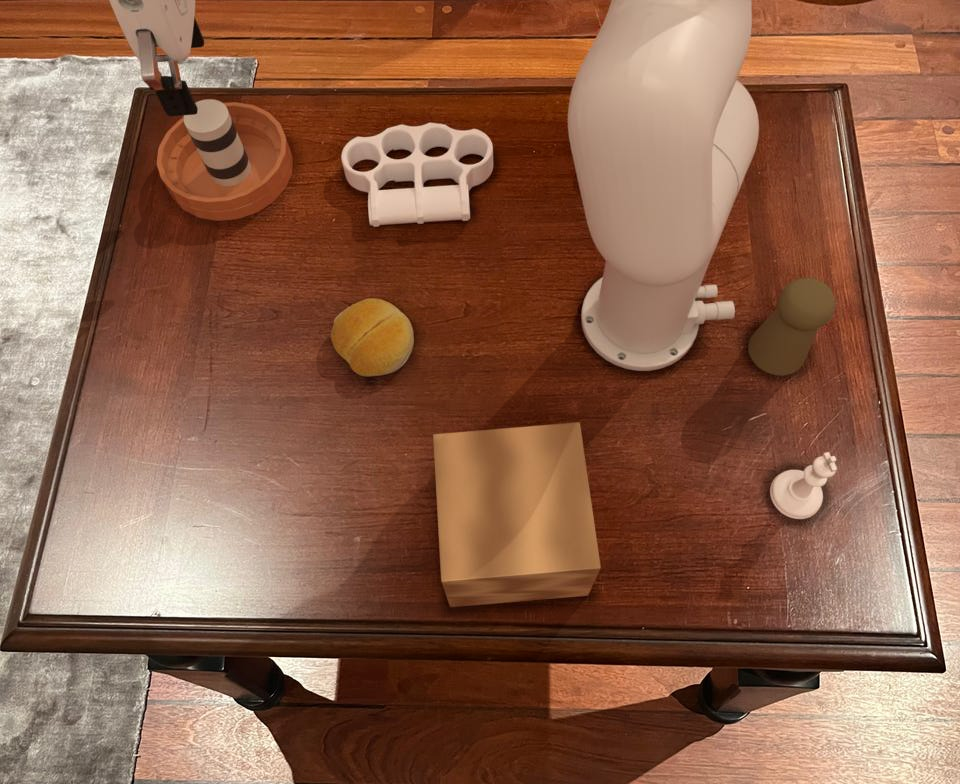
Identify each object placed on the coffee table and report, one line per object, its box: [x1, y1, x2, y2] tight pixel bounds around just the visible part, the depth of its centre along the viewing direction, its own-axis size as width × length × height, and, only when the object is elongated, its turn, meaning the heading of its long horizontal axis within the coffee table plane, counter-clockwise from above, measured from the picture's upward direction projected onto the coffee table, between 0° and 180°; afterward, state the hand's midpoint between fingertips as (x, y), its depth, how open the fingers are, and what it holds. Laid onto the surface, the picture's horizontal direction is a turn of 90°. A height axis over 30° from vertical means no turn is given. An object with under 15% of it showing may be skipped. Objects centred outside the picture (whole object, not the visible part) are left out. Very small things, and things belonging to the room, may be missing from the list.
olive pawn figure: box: [747, 277, 837, 376], centre depth 80 cm, size 6×6×11 cm
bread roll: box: [330, 297, 415, 378], centre depth 85 cm, size 8×9×4 cm
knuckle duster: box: [340, 122, 494, 228], centre depth 95 cm, size 3×18×15 cm
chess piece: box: [769, 451, 838, 520], centre depth 74 cm, size 5×5×10 cm
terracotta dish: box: [156, 101, 294, 222], centre depth 96 cm, size 15×15×4 cm
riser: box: [432, 421, 602, 608], centre depth 72 cm, size 13×13×11 cm
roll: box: [183, 98, 251, 186], centre depth 93 cm, size 5×5×9 cm
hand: (186, 78), depth 85 cm, fingers open, 9 cm apart
